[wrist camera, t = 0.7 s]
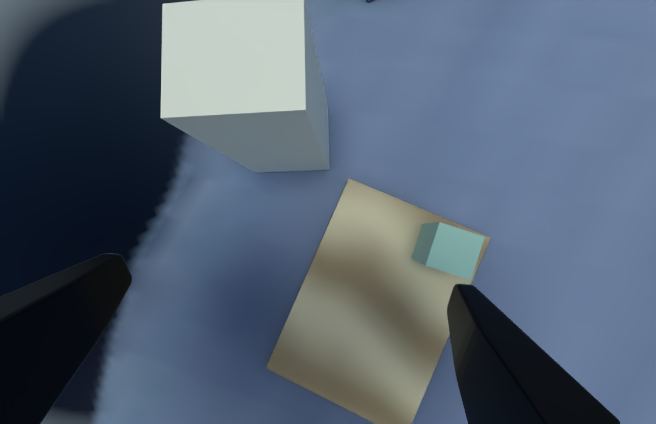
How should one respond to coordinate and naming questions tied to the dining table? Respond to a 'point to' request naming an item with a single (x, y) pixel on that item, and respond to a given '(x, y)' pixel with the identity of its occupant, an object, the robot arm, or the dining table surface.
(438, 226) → the pale teal block
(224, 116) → the tall white cuboid
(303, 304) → the board
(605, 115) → the dining table surface
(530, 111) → the dining table surface
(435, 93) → the dining table surface
